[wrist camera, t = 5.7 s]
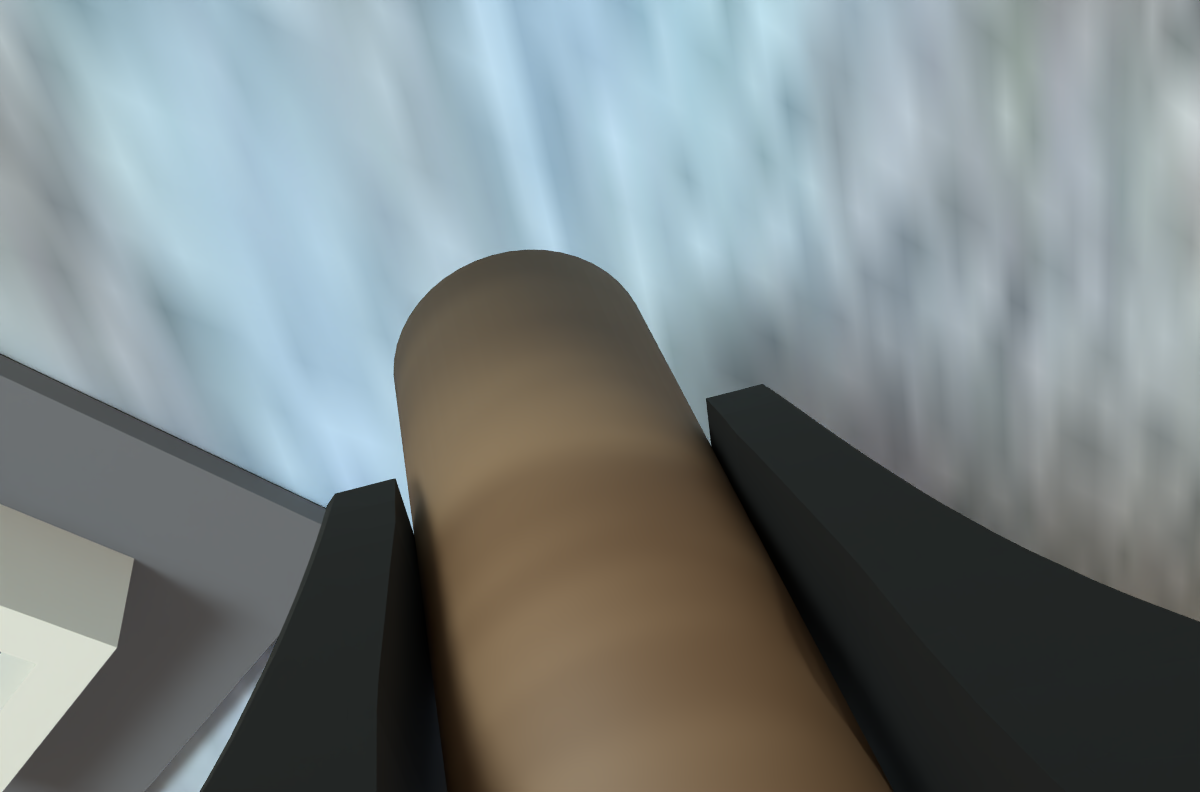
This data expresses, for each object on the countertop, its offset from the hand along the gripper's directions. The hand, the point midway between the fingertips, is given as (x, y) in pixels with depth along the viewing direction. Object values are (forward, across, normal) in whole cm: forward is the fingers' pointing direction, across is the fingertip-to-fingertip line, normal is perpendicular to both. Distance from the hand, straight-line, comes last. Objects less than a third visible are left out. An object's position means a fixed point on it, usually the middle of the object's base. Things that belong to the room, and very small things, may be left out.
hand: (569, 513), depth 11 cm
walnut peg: (+3, 0, 0) cm, 3 cm away
